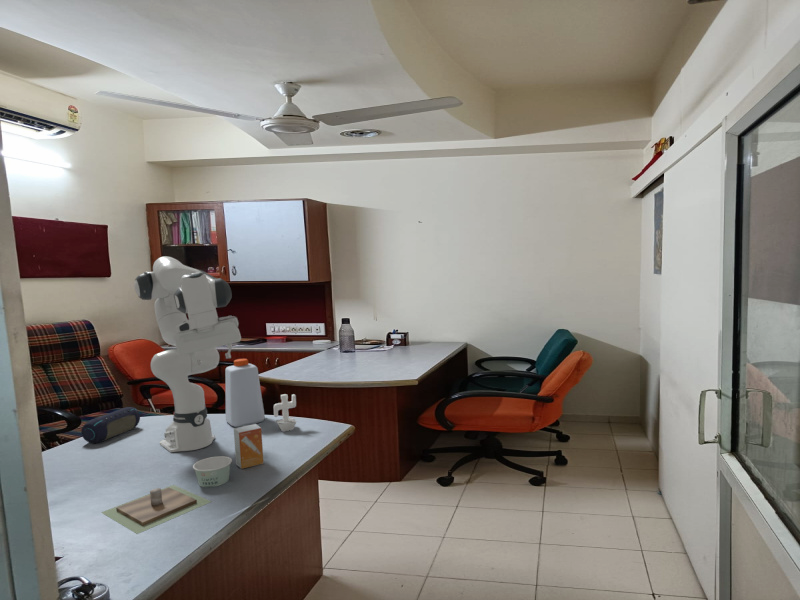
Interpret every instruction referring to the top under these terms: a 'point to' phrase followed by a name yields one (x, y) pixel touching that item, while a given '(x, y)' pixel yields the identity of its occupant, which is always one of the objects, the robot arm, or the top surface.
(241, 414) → the plastic bottle
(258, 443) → the small box
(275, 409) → the figurine
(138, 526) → the olive mat
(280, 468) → the top surface
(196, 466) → the food container
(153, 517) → the walnut lid
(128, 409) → the portable speaker
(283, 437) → the top surface
